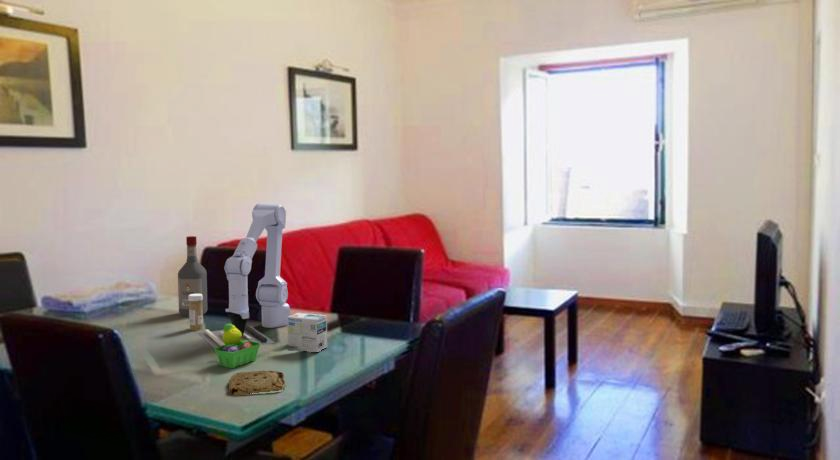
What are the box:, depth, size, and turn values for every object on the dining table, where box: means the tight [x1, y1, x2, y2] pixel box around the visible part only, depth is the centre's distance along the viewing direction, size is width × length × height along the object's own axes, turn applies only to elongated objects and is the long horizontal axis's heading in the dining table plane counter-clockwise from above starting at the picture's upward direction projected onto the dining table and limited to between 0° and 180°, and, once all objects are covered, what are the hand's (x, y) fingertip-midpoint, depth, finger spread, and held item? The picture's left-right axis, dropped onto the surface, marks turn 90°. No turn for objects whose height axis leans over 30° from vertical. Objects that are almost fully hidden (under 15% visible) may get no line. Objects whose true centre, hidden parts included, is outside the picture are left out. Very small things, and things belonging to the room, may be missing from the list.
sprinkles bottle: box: [188, 294, 204, 332], centre depth 212 cm, size 5×5×14 cm
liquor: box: [177, 235, 208, 317], centre depth 240 cm, size 9×9×30 cm
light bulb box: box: [287, 312, 328, 353], centre depth 195 cm, size 11×7×11 cm, turn 71°
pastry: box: [228, 370, 286, 397], centre depth 163 cm, size 17×17×3 cm
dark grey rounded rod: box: [245, 324, 268, 342], centre depth 206 cm, size 1×21×1 cm, turn 33°
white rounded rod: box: [204, 329, 225, 346], centre depth 199 cm, size 1×21×1 cm, turn 33°
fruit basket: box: [213, 323, 261, 369], centre depth 181 cm, size 11×9×11 cm
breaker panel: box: [197, 325, 276, 350], centre depth 202 cm, size 18×24×2 cm
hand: (239, 336), depth 199 cm, fingers closed
